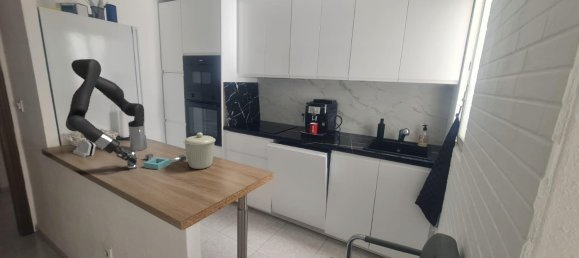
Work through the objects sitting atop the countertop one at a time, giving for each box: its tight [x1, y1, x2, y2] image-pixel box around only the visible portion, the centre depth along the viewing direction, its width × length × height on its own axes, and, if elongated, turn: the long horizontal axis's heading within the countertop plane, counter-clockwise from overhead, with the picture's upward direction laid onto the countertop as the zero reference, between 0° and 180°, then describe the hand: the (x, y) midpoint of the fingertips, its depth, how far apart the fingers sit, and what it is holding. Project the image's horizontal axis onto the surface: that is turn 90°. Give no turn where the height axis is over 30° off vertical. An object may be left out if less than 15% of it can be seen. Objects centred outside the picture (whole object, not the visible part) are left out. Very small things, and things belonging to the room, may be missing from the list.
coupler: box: [126, 150, 138, 171], centre depth 136 cm, size 5×5×10 cm
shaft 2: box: [169, 154, 188, 164], centre depth 150 cm, size 12×4×3 cm, turn 137°
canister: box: [183, 132, 216, 170], centre depth 143 cm, size 18×18×21 cm
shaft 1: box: [144, 153, 155, 161], centre depth 150 cm, size 12×4×3 cm, turn 47°
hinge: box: [72, 139, 97, 158], centre depth 157 cm, size 17×5×10 cm, turn 61°
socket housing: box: [143, 156, 172, 171], centre depth 143 cm, size 10×10×3 cm
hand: (135, 160), depth 138 cm, fingers closed on coupler, 4 cm apart
